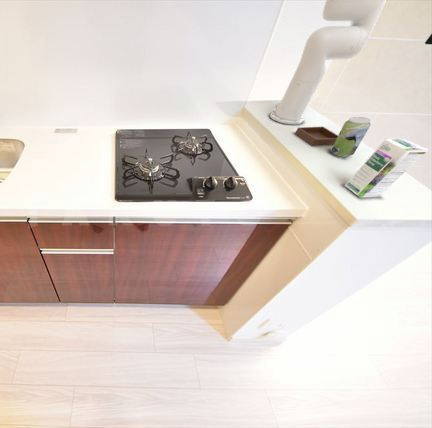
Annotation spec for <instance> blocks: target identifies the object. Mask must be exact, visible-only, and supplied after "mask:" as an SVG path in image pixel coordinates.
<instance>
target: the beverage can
mask: <svg viewBox="0 0 432 428" xmlns="http://www.w3.org/2000/svg"><path fill="white" fill-rule="evenodd" d="M370 127H371V119H370V118H368V117H364V116H351V117H349V119H348V120H346V121H345V122H344V123H343V125H342V127H341V129H340V131H339V133H338V134H337V135H338V137H337V139H336V141H335V143H334V145H332V146H331V149H330V152H331V153H332V154H333V155H335V156H338V157H349V156H353V155H354V154H355V153H356V151H357V149H358V148H359V146H360V145H361V143H362V141H363V139H364V138H365V136H366V135H367V133H368V130H369V129H370Z"/></svg>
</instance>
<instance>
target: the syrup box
mask: <svg viewBox="0 0 432 428" xmlns="http://www.w3.org/2000/svg"><path fill="white" fill-rule="evenodd" d="M429 150H430V149H429V148H426V147H423V146H421V145H419V144H417V143H415V142H413V141H410V140H409V139H407V138H387V139H384V141H383V142H382V143H380V145H379V146H378V147H377V148H376V149H375V150H374V151H373V153H371V155H370V156H369V157H368V159H366V161H365V162H364V163H363V164H362V165H361V166H360V168H359V169H358V170H356V172H355V173H354V174H353V175H352V177H350V179H348V181H347V182H346V183H345V184H344V187H345V188H346V189H348V190H349V191H351V192H352V193H353V194H355V195H356V196H357V197H358V198H360V199H361V198H362V199H363V198H378V197H380V196H382V194H383V193H385V192H386V191H387V190H388V189H389V188H390V187H391V186H392V185H393V184H394V183H395V182H396V181H398V179H400V178H401V177H402V176H403V175H405V173H406V172H407V171H408V170H409V169H410V168H411V167H412V166H414V164H416V163H417V162H418V161H419V160H420V159H421V158H423V156H424V155H425V154H426V153H428V152H429Z"/></svg>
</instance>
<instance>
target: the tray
mask: <svg viewBox="0 0 432 428" xmlns="http://www.w3.org/2000/svg"><path fill="white" fill-rule="evenodd" d="M294 134H295V135H296V136H297V137H299V138H300V139H301V140H303V141H305V142H306V143H307V144H308V145H310V146H312V147H318V146H333V145H334V143H335V141H336V139H337V137H338V135H339V134H336V133H335V132H333V131H332V130H329V128H326V127H325V126H304V127H302V126H301V127H297V129H296V131H295V133H294Z"/></svg>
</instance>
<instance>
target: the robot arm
mask: <svg viewBox="0 0 432 428" xmlns="http://www.w3.org/2000/svg"><path fill="white" fill-rule="evenodd" d="M386 3H387V0H326V1H325V4H324V7H323V10H322V15H321V16H322V19H323V20H324V21H327V22H350V23H349V25H328V26H322V27H320V28H317V29H316V30H314V31H313V32H312V33H311V34H310V35H309V36H308V38H307V40H306V41H305V44H304V47H303V51H302V54H301V57H300V60H299V62H298V65H297V67H296V69H295V72H294V74H293V75H292V78H291V80H290V82H289V83H288V86H287V88H286V90H285V93H284V94H283V97H282V99H281V101H280V102H278V103H275V104H274V105H273V107H274V108H275V110H274V111H272V112H271V113H270V115H269V117H270V119H271V120H273V121H275V122H278V123H280V124H285V125H300V124H302V123H304V121H305V118H304V117H303V114H304V112H305V110H306V109H307V107H308V105H309V103H310V102H311V100H312V98H313V96H314V94H315V93H316V91H317V90H318V87H319V86H320V84H321V82H322V80H323V79H324V77H325V74H326V61H329V60H350V59H353V58H354V57H356V56H357V55H358V54H360V52H361V51H363V49H364V48H365V46H366V45H367V43H368V41H369V40H370V37H371V36H372V33H373V31H374V29H375V27H376V24H377V22H378V21H379V18H380V16H381V14H382V12H383V10H384V9H385V8H384V7H385V6H386ZM424 44H425V45H432V33H431V34H430V35H429V36H428V37H427V39H426V40H425V42H424Z"/></svg>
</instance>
